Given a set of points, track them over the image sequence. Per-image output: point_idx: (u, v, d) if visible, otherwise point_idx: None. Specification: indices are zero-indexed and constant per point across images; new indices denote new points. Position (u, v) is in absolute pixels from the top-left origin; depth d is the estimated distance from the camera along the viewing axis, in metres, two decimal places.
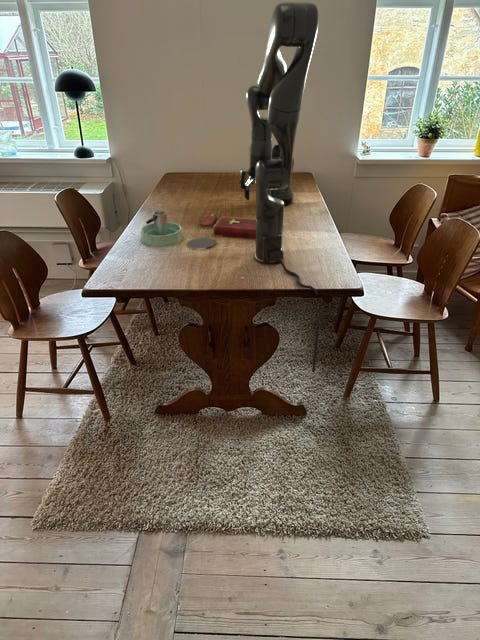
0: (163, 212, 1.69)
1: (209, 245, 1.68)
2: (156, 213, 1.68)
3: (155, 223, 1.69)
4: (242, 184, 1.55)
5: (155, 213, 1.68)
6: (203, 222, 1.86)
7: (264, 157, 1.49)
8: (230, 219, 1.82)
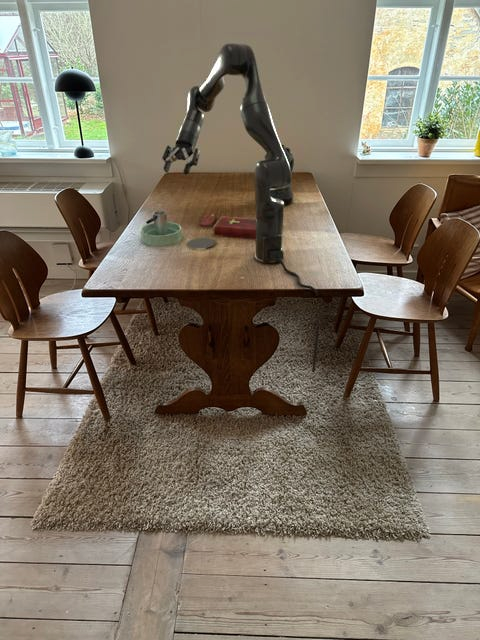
0: (163, 212, 1.69)
1: (209, 245, 1.68)
2: (156, 213, 1.68)
3: (155, 223, 1.69)
4: (164, 155, 1.75)
5: (155, 213, 1.68)
6: (203, 222, 1.86)
7: (184, 131, 1.72)
8: (230, 219, 1.82)
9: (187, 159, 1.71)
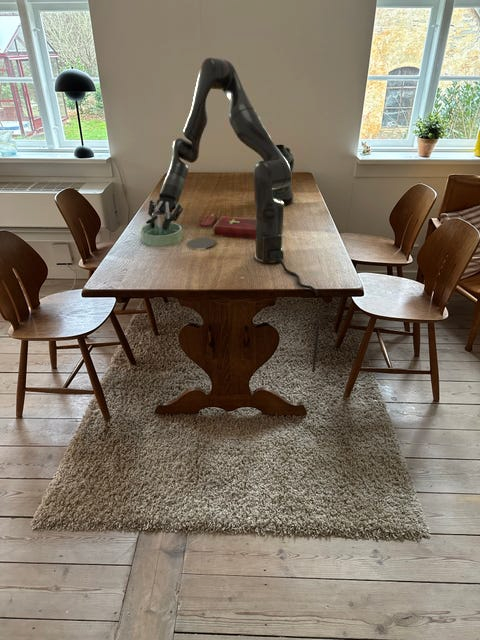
0: (163, 212, 1.69)
1: (209, 245, 1.68)
2: (156, 213, 1.68)
3: (155, 223, 1.69)
4: (149, 211, 1.72)
5: (155, 213, 1.68)
6: (203, 222, 1.86)
7: (167, 185, 1.69)
8: (230, 219, 1.82)
9: None
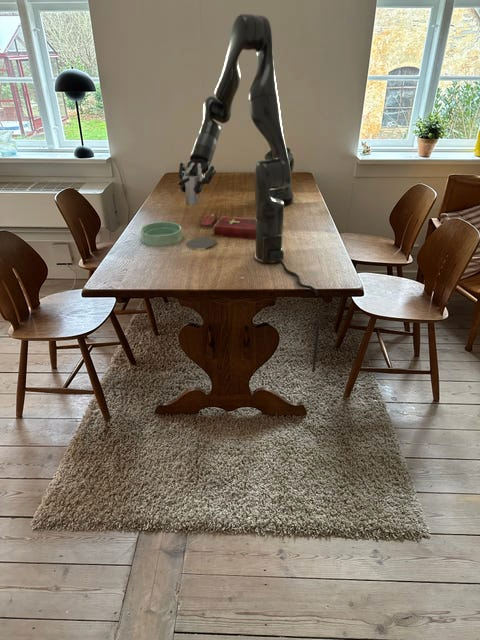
0: (195, 174, 1.58)
1: (209, 245, 1.68)
2: (188, 175, 1.57)
3: (186, 186, 1.57)
4: (180, 173, 1.60)
5: (187, 175, 1.57)
6: (203, 222, 1.86)
7: (200, 145, 1.58)
8: (230, 219, 1.82)
9: (199, 177, 1.58)
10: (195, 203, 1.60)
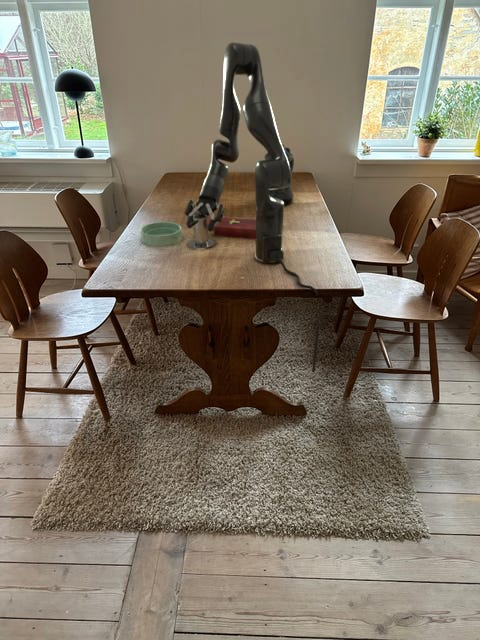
0: (203, 216, 1.65)
1: (209, 245, 1.68)
2: (197, 217, 1.64)
3: (195, 227, 1.65)
4: (187, 210, 1.68)
5: (195, 217, 1.64)
6: None
7: (208, 186, 1.65)
8: (230, 219, 1.82)
9: (211, 215, 1.64)
10: (203, 243, 1.68)
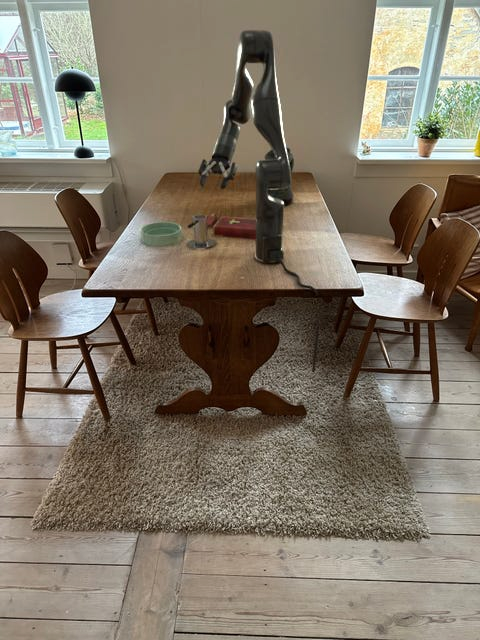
0: (203, 216, 1.65)
1: (209, 245, 1.68)
2: (197, 217, 1.64)
3: (195, 227, 1.65)
4: (200, 169, 1.72)
5: (195, 217, 1.64)
6: None
7: (221, 145, 1.69)
8: (230, 219, 1.82)
9: (224, 173, 1.68)
10: (203, 243, 1.68)
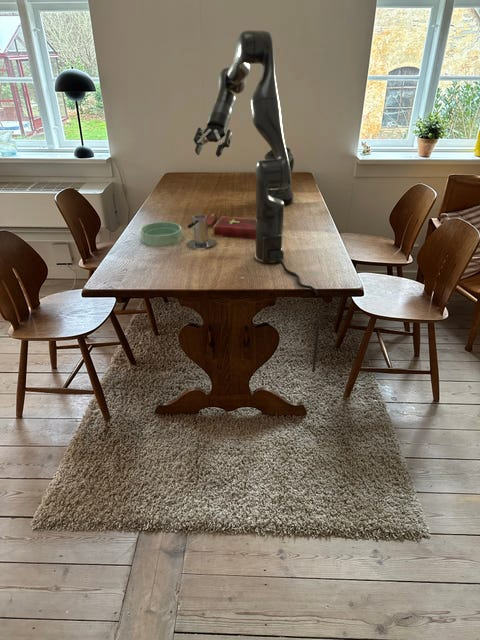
0: (203, 216, 1.65)
1: (209, 245, 1.68)
2: (197, 217, 1.64)
3: (195, 227, 1.65)
4: (195, 137, 1.73)
5: (195, 217, 1.64)
6: None
7: (216, 112, 1.70)
8: (230, 219, 1.82)
9: (219, 141, 1.69)
10: (203, 243, 1.68)
